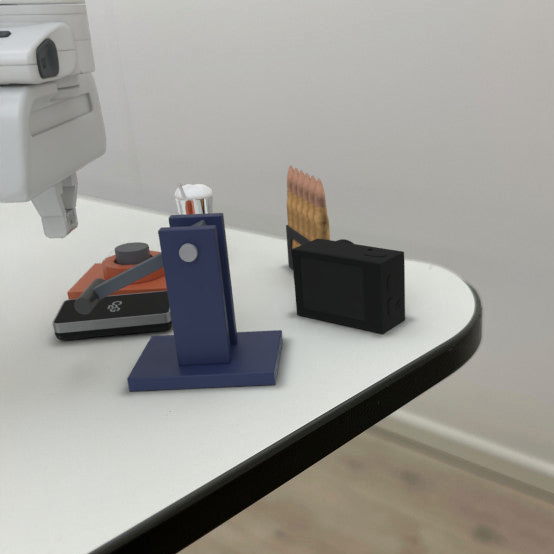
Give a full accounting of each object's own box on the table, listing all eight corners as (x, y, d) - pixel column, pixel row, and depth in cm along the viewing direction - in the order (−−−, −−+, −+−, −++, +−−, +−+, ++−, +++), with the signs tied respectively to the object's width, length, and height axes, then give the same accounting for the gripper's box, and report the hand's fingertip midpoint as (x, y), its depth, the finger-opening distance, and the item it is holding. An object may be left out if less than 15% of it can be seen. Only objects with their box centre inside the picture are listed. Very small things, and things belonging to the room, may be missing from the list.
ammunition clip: (288, 266, 92) (280, 164, 87) (302, 263, 93) (295, 163, 88) (320, 292, 83) (313, 181, 78) (336, 289, 84) (330, 179, 79)
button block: (71, 312, 80) (63, 275, 79) (98, 281, 90) (91, 248, 88) (185, 306, 81) (179, 270, 79) (200, 276, 90) (196, 243, 88)
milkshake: (173, 263, 95) (161, 182, 90) (194, 251, 99) (184, 173, 95) (206, 265, 93) (195, 183, 89) (226, 253, 98) (217, 174, 94)
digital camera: (413, 315, 76) (412, 247, 73) (383, 334, 72) (381, 262, 69) (328, 298, 81) (324, 234, 78) (296, 315, 77) (291, 247, 74)
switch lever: (84, 322, 62) (66, 297, 61) (101, 301, 67) (85, 277, 66) (212, 257, 60) (196, 230, 59) (221, 239, 65) (206, 214, 64)
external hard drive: (68, 318, 79) (64, 299, 78) (177, 307, 80) (174, 289, 80) (55, 344, 73) (51, 324, 72) (174, 332, 74) (171, 313, 73)
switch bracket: (129, 391, 63) (101, 239, 57) (153, 347, 71) (130, 211, 66) (275, 385, 63) (260, 232, 58) (282, 341, 71) (270, 204, 66)
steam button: (113, 268, 82) (110, 252, 81) (121, 258, 85) (119, 242, 84) (146, 266, 82) (144, 250, 81) (154, 256, 85) (151, 241, 84)
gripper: (36, 43, 65) (65, 204, 71) (-84, 58, 47) (-32, 273, 53) (111, 42, 66) (133, 202, 71) (20, 56, 47) (60, 271, 53)
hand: (62, 233), depth 62 cm, fingers closed
